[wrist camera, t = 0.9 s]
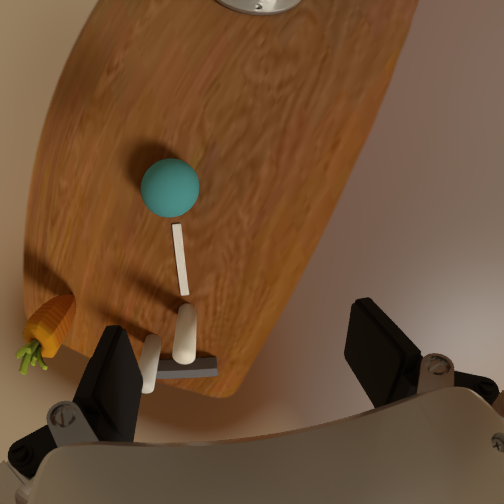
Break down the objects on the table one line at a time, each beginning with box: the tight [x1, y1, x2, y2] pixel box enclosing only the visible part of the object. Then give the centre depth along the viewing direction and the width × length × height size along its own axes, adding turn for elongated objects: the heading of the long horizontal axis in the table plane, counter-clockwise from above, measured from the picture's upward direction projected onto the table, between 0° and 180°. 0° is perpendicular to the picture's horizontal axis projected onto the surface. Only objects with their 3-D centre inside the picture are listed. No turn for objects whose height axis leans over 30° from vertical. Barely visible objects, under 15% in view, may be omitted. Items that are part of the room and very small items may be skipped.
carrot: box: [16, 294, 76, 375], centre depth 26 cm, size 5×5×15 cm
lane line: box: [172, 224, 189, 295], centre depth 33 cm, size 9×1×1 cm, turn 2°
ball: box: [141, 158, 199, 217], centre depth 28 cm, size 6×6×6 cm
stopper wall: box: [156, 357, 218, 379], centre depth 37 cm, size 2×9×2 cm, turn 92°
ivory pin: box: [172, 303, 197, 364], centre depth 32 cm, size 2×2×9 cm
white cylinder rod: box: [138, 334, 162, 393], centre depth 32 cm, size 2×2×9 cm
